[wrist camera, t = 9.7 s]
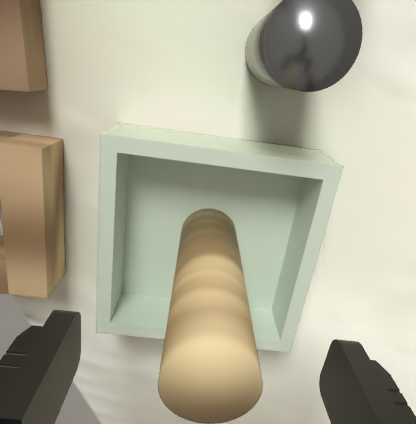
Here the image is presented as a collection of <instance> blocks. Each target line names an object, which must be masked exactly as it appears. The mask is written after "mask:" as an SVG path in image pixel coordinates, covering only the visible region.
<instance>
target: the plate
mask: <svg viewBox="0 0 416 424" xmlns="http://www.w3.org/2000/svg"><path fill="white" fill-rule="evenodd" d="M47 89H48V84H47V73H46V62H45V51H44V40H43V29H42V18H41V7H40V0H0V90H11V91H25V92H32V91H39V90H47Z"/></svg>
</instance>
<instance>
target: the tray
mask: <svg viewBox="0 0 416 424" xmlns="http://www.w3.org/2000/svg"><path fill="white" fill-rule="evenodd" d="M342 170H343V166H342V165H341V164H339V163H338V162H336V161H335V160H333V159H332V158H331V157H329V156H328V155H326V154H325V153H323V152H322V151H321V150H314V149H307V148H299V147H292V146H285V145H277V144H270V143H263V142H255V141H248V140H241V139H234V138H226V137H219V136H212V135H204V134H197V133H190V132H182V131H175V130H168V129H160V128H153V127H146V126H139V125H131V124H124V123H118V124H116V125H114V126H113V127H111V128H109V129H108V130H106V131H104V132H103V133H101V142H100V186H99V230H98V274H97V318H96V332H97V333H106V334H116V335H126V336H135V337H145V338H155V339H164V340H165V333H166V327H167V320H168V314H169V307H170V301H171V294H172V288H173V281H174V275H175V268H176V262H177V256H178V249H179V243H180V236H181V230H182V226H183V223H184V221H185V220H186V219H187V218H188V216H190V215H191V214H192V213H194V212H196V211H198V210H201V209H216V210H219V211H222V212H223V213H225V214H226V215H228V216H229V217H230V218H231V220H232V221H233V223H234V226H235V229H236V235H237V241H238V246H239V252H240V258H241V263H242V269H243V275H244V280H245V286H246V292H247V297H248V303H249V308H250V314H251V320H252V325H253V331H254V337H255V342H256V348H257V349H261V350H271V351H280V352H290V351H291V348H292V344H293V341H294V337H295V334H296V330H297V327H298V323H299V320H300V316H301V313H302V309H303V306H304V302H305V299H306V295H307V292H308V288H309V285H310V281H311V278H312V274H313V271H314V267H315V264H316V260H317V257H318V253H319V250H320V246H321V243H322V240H323V236H324V233H325V229H326V226H327V222H328V219H329V215H330V212H331V208H332V205H333V201H334V198H335V194H336V191H337V187H338V184H339V180H340V177H341V173H342Z"/></svg>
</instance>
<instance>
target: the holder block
mask: <svg viewBox="0 0 416 424" xmlns="http://www.w3.org/2000/svg"><path fill="white" fill-rule="evenodd" d="M0 200H1V211H2V223H3V234H4V236H0V293H2V294H11V295H20V296H29V297H39V298H48V297H49V296H50V294H51V293H52V291H53V290H54V288H55V287H56V286H57V284H58V283H59V281H60V280H61V278H62V277H63V275H64V274H65V239H64V180H63V139H58V138H51V137H43V136H36V135H28V134H21V133H13V132H6V131H0Z"/></svg>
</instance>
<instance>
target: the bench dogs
mask: <svg viewBox="0 0 416 424" xmlns="http://www.w3.org/2000/svg"><path fill="white" fill-rule="evenodd" d="M361 42H362V23H361V18H360V15H359V12H358V10H357V7H356V6H355V4H354V3H353V1H352V0H283V1H282V2H281V3H280V4H279V5H277V6H276V7H275V8H274V9H273V10H272V11H271V12H270V13H269V14H268V15H266V16H265V17H264V18H263V19H262V20H261V21H260V22H259V23H258V24H257V25H256V26H255V27H254V28H253V29H252V31H251V32H250V34H249V36H248V39H247V42H246V47H245V57H246V62H247V65H248V68H249V70H250V71H251V73H252V74H253V75H254V76H255V77H256V78H257V79H258V80H260V81H261V82H263V83H266V84H270V85H275V86H279V87H284V88H289V89H293V90H298V91H304V92H313V91H319V90H322V89H325V88H328V87H330V86H332V85H333V84H335V83H336V82H338V81H339V80H340V79H341V78H343V77H344V76H345V74H346V73H347V72H348V71H349V70H350V68H351V67H352V65H353V64H354V62H355V60H356V58H357V56H358V53H359V50H360V47H361Z"/></svg>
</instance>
